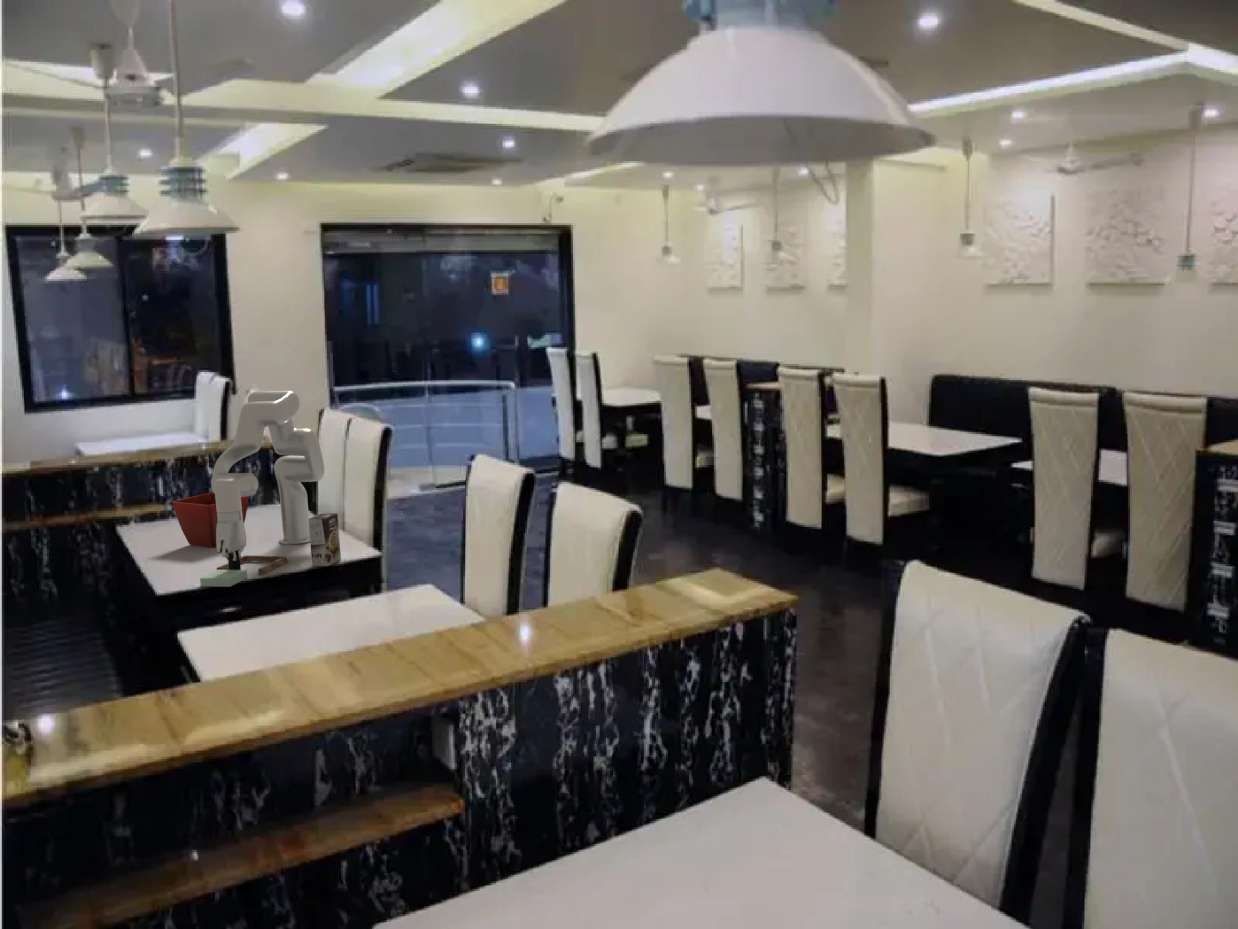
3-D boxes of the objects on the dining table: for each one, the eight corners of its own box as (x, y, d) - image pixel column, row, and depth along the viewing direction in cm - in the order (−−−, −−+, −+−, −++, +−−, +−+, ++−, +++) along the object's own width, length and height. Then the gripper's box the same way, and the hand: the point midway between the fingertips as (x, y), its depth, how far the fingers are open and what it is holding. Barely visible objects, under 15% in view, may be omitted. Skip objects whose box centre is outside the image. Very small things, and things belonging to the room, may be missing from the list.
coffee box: (329, 566, 332) (325, 518, 330) (311, 566, 334) (307, 518, 331) (341, 559, 341) (338, 512, 338) (324, 558, 342) (320, 512, 340)
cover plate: (219, 578, 323) (218, 569, 323) (247, 579, 321) (246, 570, 321) (200, 587, 314) (199, 578, 313) (230, 588, 312) (229, 578, 311)
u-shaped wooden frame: (245, 560, 343) (244, 555, 342) (287, 562, 339) (287, 556, 339) (217, 573, 327) (216, 567, 327) (261, 575, 324) (260, 569, 324)
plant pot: (253, 539, 375) (249, 494, 372) (214, 551, 358) (209, 505, 355) (216, 535, 383) (211, 492, 380) (175, 547, 366) (170, 501, 363)
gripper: (233, 511, 329) (238, 565, 332) (205, 521, 314) (210, 577, 317) (253, 511, 327) (258, 566, 330) (226, 521, 313) (232, 578, 316)
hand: (235, 571), depth 324 cm, fingers closed
